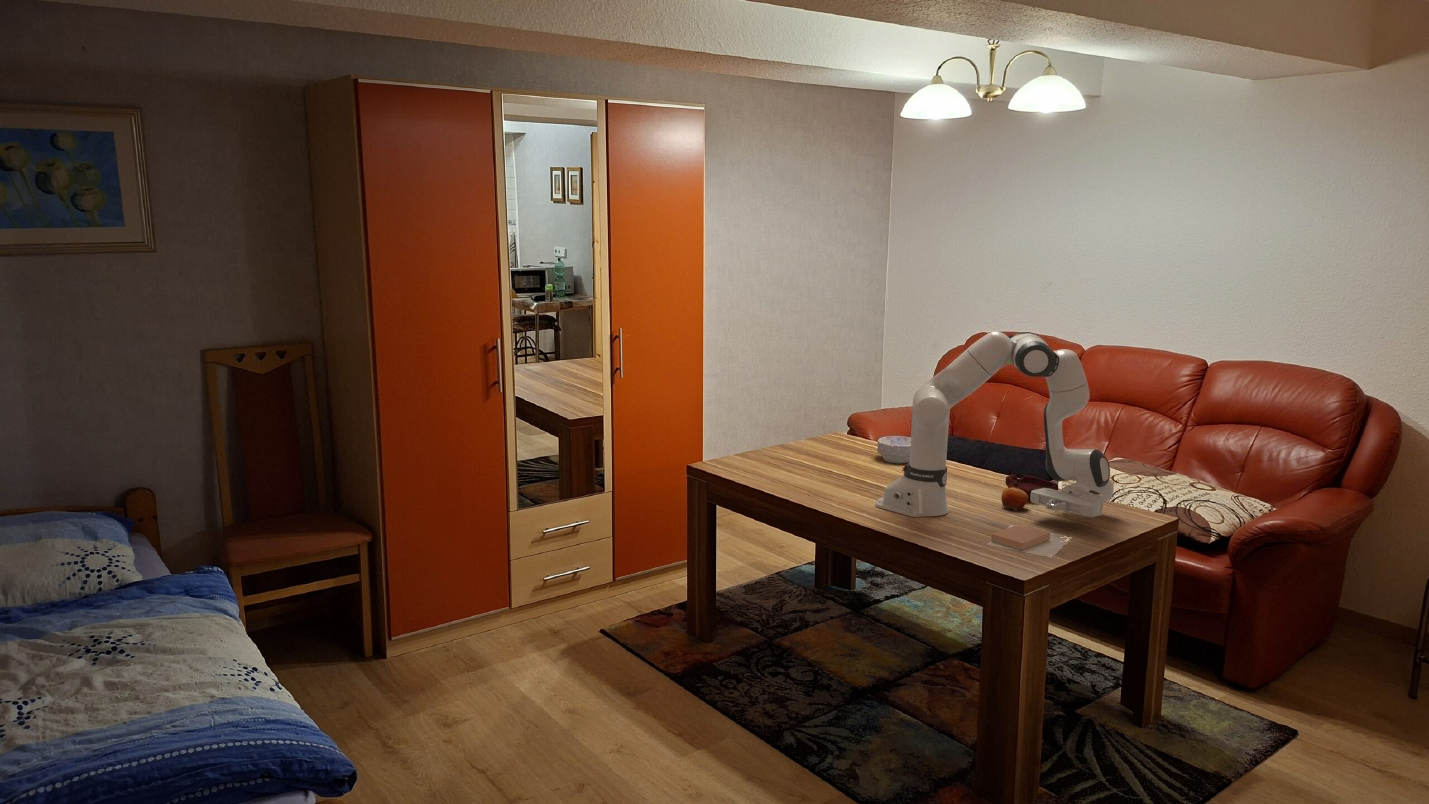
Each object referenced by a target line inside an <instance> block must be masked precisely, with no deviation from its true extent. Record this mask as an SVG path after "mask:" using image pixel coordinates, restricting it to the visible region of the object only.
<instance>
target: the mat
mask: <svg viewBox="0 0 1429 804" xmlns="http://www.w3.org/2000/svg"><path fill="white" fill-rule="evenodd" d="M1012 526H1015V525H1012V524H1010V525H1009V526H1008V527H1007V528H1009V527H1012ZM1048 532H1049V531H1048ZM1049 533H1051V534H1050V540H1049V541H1046V542H1044V543H1041V544H1039V545H1036V546H1033V547H1031V548H1028V549H1025V550H1023V551H1020V550H1016V549H1013V548H1010V547H1007V546H1004V545H1000V544H997V543H994V542H991V540H990V541H989V542H987V543H986V545H988V546H991V547H997V548H1003V549H1007V550H1011V551H1017V552H1020V553H1025V554H1030V555H1035V556H1040V557H1044V556H1051V555H1052V556H1053V557H1055V556H1056V555H1057V554H1058V553H1059V552H1060V551H1059V550H1060V549H1061V550H1062V548H1064V547H1060V546H1062V545H1065V546H1066V545H1067V544H1068V543H1069V542H1065V541H1064V540H1066V539H1067V538H1060V537H1064V536H1066V535H1065V534H1060V533H1054V532H1049ZM1069 539H1070V538H1069ZM1060 541H1063V542H1060ZM1058 551H1059V552H1058ZM1053 557H1048V558H1049V559H1053Z"/></svg>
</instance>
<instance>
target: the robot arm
mask: <svg viewBox="0 0 1429 804" xmlns="http://www.w3.org/2000/svg"><path fill="white" fill-rule="evenodd" d="M1009 365H1010V366H1011V365H1014V367H1015V368H1016V369H1017V370H1018V371H1019V372H1020V373H1021V374H1023V375H1025V376H1027V377H1031V378H1038V377H1039V378H1043V377H1044V378H1045V380H1046V384H1047V388H1048V391H1049V401H1048V402H1047V403H1045V405H1044V409H1043V428H1044V442H1045V450H1046V451H1045V455H1046V456H1045V469H1046V470H1045V471H1046V472H1047V474H1048V475H1049V476H1050V478H1052V480H1054V481H1056V482H1070V481H1071V482H1072V481H1073V482H1074V481H1075V482H1074V483H1071V484H1068V485H1065V486H1064V487H1063V488H1062V489H1061V490H1059V489H1058V490H1054V489H1049V488H1041V489H1036V490H1032V491H1031V495H1030V500H1029V501H1030V502H1031V503H1032V504H1036V505H1040V506H1044V507H1045V509H1046V510H1050V511H1054V512H1056V511H1062V512H1067V513H1070V514H1072V515H1073V514H1074V515H1078V516H1083V517H1086V518H1096V517H1099V516H1102V515H1103V510H1104V504H1105V503H1107V502H1108V501H1110V499H1111V498H1112V497H1113V494H1114V492H1115V491H1114V484H1113V482H1112V480H1111V479H1110V478H1111V466H1110V462H1109V460H1108V458H1107V456H1106V455H1105V454H1104V452H1102V451H1101V450H1099V449H1096V448H1095V449H1092V448H1091V449H1089V448H1085V449H1084V448H1082V449H1073V448H1072V449H1070V448H1067V447H1066V446H1065V445H1064V433H1063V432H1064V431H1063V421H1064V420H1065V419H1067V418H1071V417H1072V416H1074V415H1076V414H1078V413H1079V412H1081V411H1083V409H1084V408H1085V407H1086V406H1087V405H1088V403H1089V401H1090V388H1089V384H1088V380H1087V379H1088V378H1087V377H1086V374H1085V370H1084V368H1083V365H1082V363H1081V360H1080V358H1079V357H1078V354H1077V353H1076V352H1074V351H1073V350H1071V349H1064V348H1062V349H1057V350H1053V349H1052V348H1051V347H1050V346H1049V345H1048V343H1047V341H1046V340H1045V339H1044V338H1043V337H1041V336H1039V335H1038V334H1036V333H1034V332H1031V331H1025V332H1019V333H1017V334H1012V335H1006V334H1005V333H1003V332H1001V331H997V330H993V331H990V332H989V333H987V334H985V335H984V336H982V337H981V338H979V339H977V340H976V341H975V342H973V343H972V344H971V345H970V346H969V347H967V349H965V350H964V351H963V352H962V353H961V354H960V355H959V356H957V357H956V358H955V359H954V360H953V361H951V363H950V364H948V365H947V366H946V367H945V368H943V369H942V370H941V371H939V372H937V374H935V375H934V376H933V377H932V378H931V379H928V380H927V381H926V382H925V383H924V384H923V385H922V386H920V387H919V388H918V389H917V390H916V392H915V393H914V395H913V398H912V409H911V410H912V413H911V428H910V429H911V431H910V432H911V433H910V438H911V449H910V462H908V463H906V465H904V466H903V467H902V468H901V472H903V475H901V476H900V477H898V478H896V479H894V480H893V481H892V482H890V483H888V485H887V486H886V487H885V490H884V492H883V493H884V494H883V496H882V497H880V498H878V499H877V500H876V503H875V506H876V507H877V508H880V509H884V510H887V511H890V512H894V513H898V514H901V515H905V516H908V517H912V518H921V517H939V516H944V515H947V514H948V513H949V512H950V510H949V507H948V501H947V500H948V499H947V491H946V486H947V482H948V467H947V453H948V439H949V438H948V437H949V430H950V427H949V425H950V417H951V416H950V414H951V410H952V408H953V407H954V406H955V405H957V404H958V403H959V402H961V401H962V400H964V399H966V398H968V397H969V396H970V395H972V394H974V392H975V391H977V390H978V389H979V388H981V386H983V385H984V384H985V383H987V381H989V379H991V378H992V377H993V376H994V375H995V374H996V373H997V372H998V371H999V370H1000V369H1003V368H1004V367H1006V366H1009Z"/></svg>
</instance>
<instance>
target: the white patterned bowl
mask: <svg viewBox="0 0 1429 804" xmlns="http://www.w3.org/2000/svg"><path fill="white" fill-rule="evenodd" d="M877 439H878V440H877V454H878V455H881V456H882V459H883V460H884V461H885V462H887V463H891V464H908V463H909V462H910V449H911V436H910V437H909V436H904V435H903V436H902V435H887V436H883V437H880V438H877Z"/></svg>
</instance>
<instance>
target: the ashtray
mask: <svg viewBox="0 0 1429 804" xmlns="http://www.w3.org/2000/svg"><path fill="white" fill-rule="evenodd" d="M1005 485H1006V487H1007V489H1008V488H1011V487H1013V488H1017V489H1020V490H1022V491H1024V492H1025V493H1026V494H1027V495H1028V497H1029V498H1028V501H1031V500H1030V495H1031V491H1032V490H1036V489H1041V488H1049V489H1054V490H1058V491H1059V484H1058V483H1056V482H1054V481H1051V480H1046V479H1045V478H1040V477H1037V476H1034V475H1022V477H1020V478H1019V477H1017V475H1016V474H1009V475H1008V476H1006V477H1005Z"/></svg>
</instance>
